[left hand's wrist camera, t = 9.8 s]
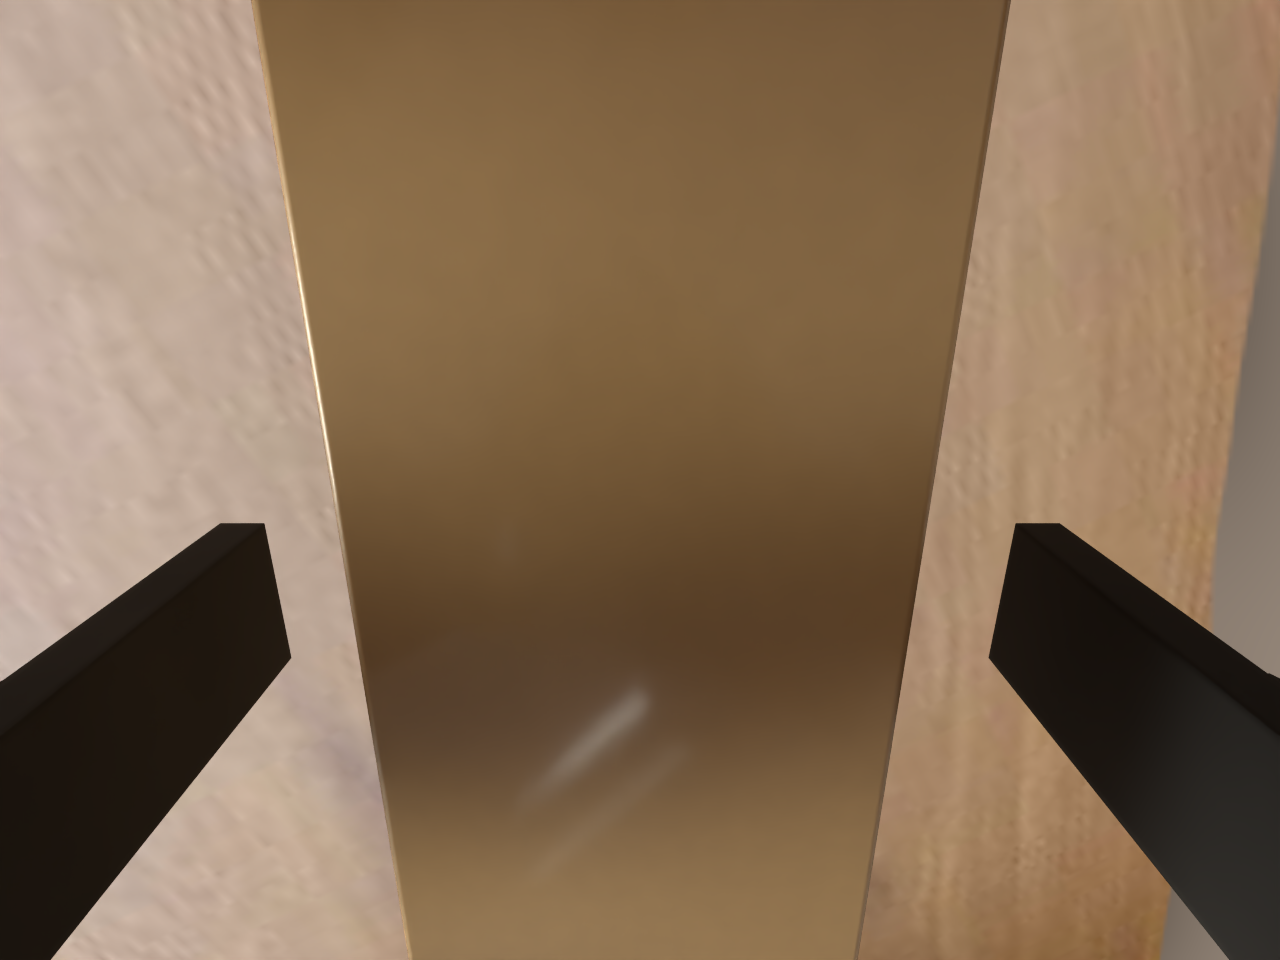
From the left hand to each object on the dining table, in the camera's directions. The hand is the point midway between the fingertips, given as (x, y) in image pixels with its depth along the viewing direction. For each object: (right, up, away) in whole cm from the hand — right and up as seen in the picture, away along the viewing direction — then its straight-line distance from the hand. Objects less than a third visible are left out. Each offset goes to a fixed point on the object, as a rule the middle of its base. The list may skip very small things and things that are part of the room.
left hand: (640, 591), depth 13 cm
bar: (0, +9, -1) cm, 9 cm away
